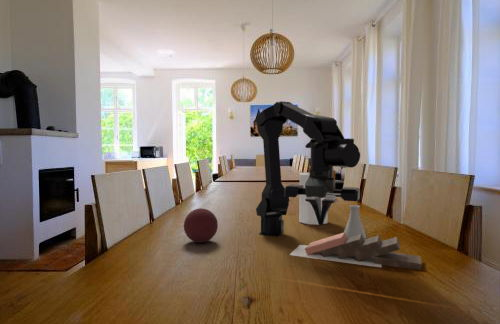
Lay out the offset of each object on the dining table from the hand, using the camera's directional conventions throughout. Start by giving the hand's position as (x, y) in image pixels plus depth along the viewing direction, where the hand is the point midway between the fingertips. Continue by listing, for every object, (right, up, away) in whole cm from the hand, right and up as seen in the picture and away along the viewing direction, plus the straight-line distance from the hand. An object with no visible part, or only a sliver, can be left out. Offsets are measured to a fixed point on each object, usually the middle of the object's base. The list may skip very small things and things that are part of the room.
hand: (320, 225), depth 86 cm
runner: (+4, -8, -1) cm, 9 cm away
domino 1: (-3, -7, +1) cm, 7 cm away
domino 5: (+12, -7, -5) cm, 15 cm away
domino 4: (+8, -7, -4) cm, 11 cm away
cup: (+6, -7, +39) cm, 40 cm away
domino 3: (+5, -7, -2) cm, 8 cm away
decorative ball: (-33, -8, +12) cm, 36 cm away
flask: (+14, -7, +17) cm, 23 cm away
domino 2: (+1, -7, 0) cm, 7 cm away
